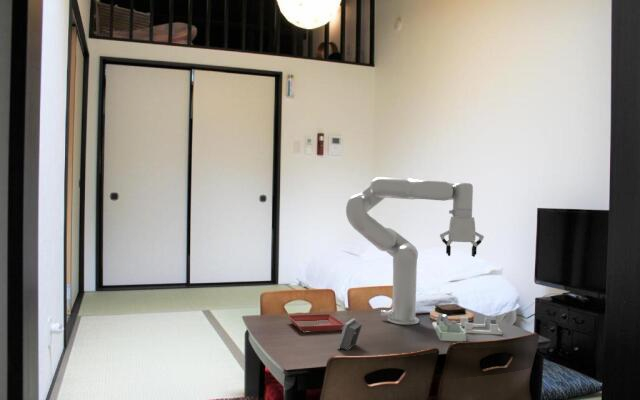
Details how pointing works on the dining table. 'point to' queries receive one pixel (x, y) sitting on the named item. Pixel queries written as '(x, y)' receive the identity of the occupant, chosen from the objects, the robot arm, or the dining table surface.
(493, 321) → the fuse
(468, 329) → the fuse panel
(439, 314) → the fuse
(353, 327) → the electrical switch
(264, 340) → the dining table surface
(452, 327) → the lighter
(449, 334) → the tray
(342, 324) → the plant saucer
